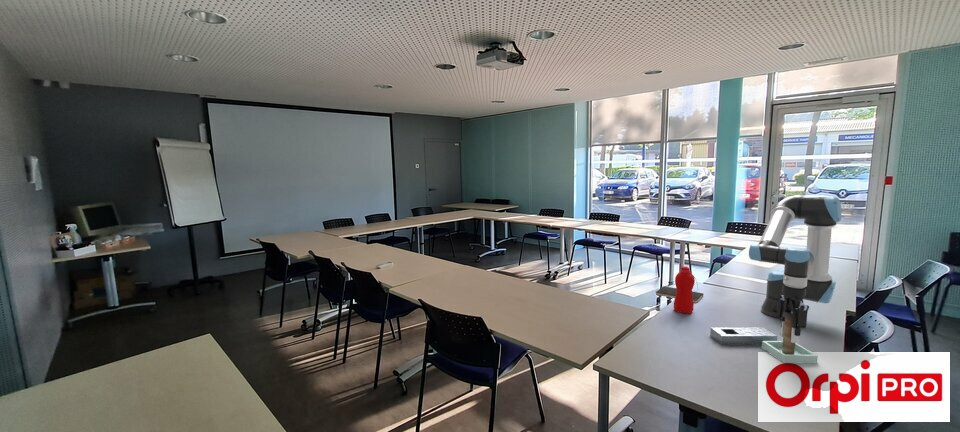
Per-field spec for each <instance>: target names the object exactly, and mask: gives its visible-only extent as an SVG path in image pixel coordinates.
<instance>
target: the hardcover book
mask: <svg viewBox="0 0 960 432" xmlns="http://www.w3.org/2000/svg"><path fill="white" fill-rule="evenodd" d="M676 294H677V289H676V287H672V286H665V285H663V286H662V287H661V288H659V289H657V290H656V291H655V295H656V296H660V297H661V296H662V297H666V298H671V299H675V297H676ZM704 294H705V293H703V292H698V291H697V292H696V291H694V290H692V298H693V303H695V304H697V303H698V302H699V301H700V299H702V298H703V297H704Z"/></svg>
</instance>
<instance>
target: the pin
mask: <svg viewBox="0 0 960 432" xmlns="http://www.w3.org/2000/svg"><path fill="white" fill-rule="evenodd" d="M783 316H784V317H785V322H784V335H783V337H782V341H783V347H782V353H784V354H794V352H795V343H792V342H791V333H792V326H794V322H793V312H783Z"/></svg>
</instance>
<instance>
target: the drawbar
mask: <svg viewBox="0 0 960 432" xmlns="http://www.w3.org/2000/svg"><path fill="white" fill-rule="evenodd" d="M709 333H710V335H709V336H710V337H711V338H712V339H714V340H715V341H716V342H717V343H719V344H720V345H721V346H722V345H723V346H725V345H740V346H741V345H755V346H756V345H757V346H758V345H761V346H762V341H778V335H776V334H775V333H773V332H772V331H770V330H768V329H766V328H765V327H763V326H762V327H758V326H757V327H754V326H753V327H752V326H751V327H710V332H709Z"/></svg>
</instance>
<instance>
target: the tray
mask: <svg viewBox="0 0 960 432" xmlns="http://www.w3.org/2000/svg"><path fill="white" fill-rule="evenodd" d="M782 347H783V340H777V341H762V345H761V349H762V350H764V351H765V352H767V353H769V354H770V353H771V354H770V355H772V356H773V357H775V358H776V359H777V360H779V361H780V362H782V363H783V364H817V363H818V358H819V355H817V354H816V353H814V352H813V351H811V350H809V349H807V348H805V347H804V346H802V345H800V344H799V343H795V352H794V354H784V353H782Z"/></svg>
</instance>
